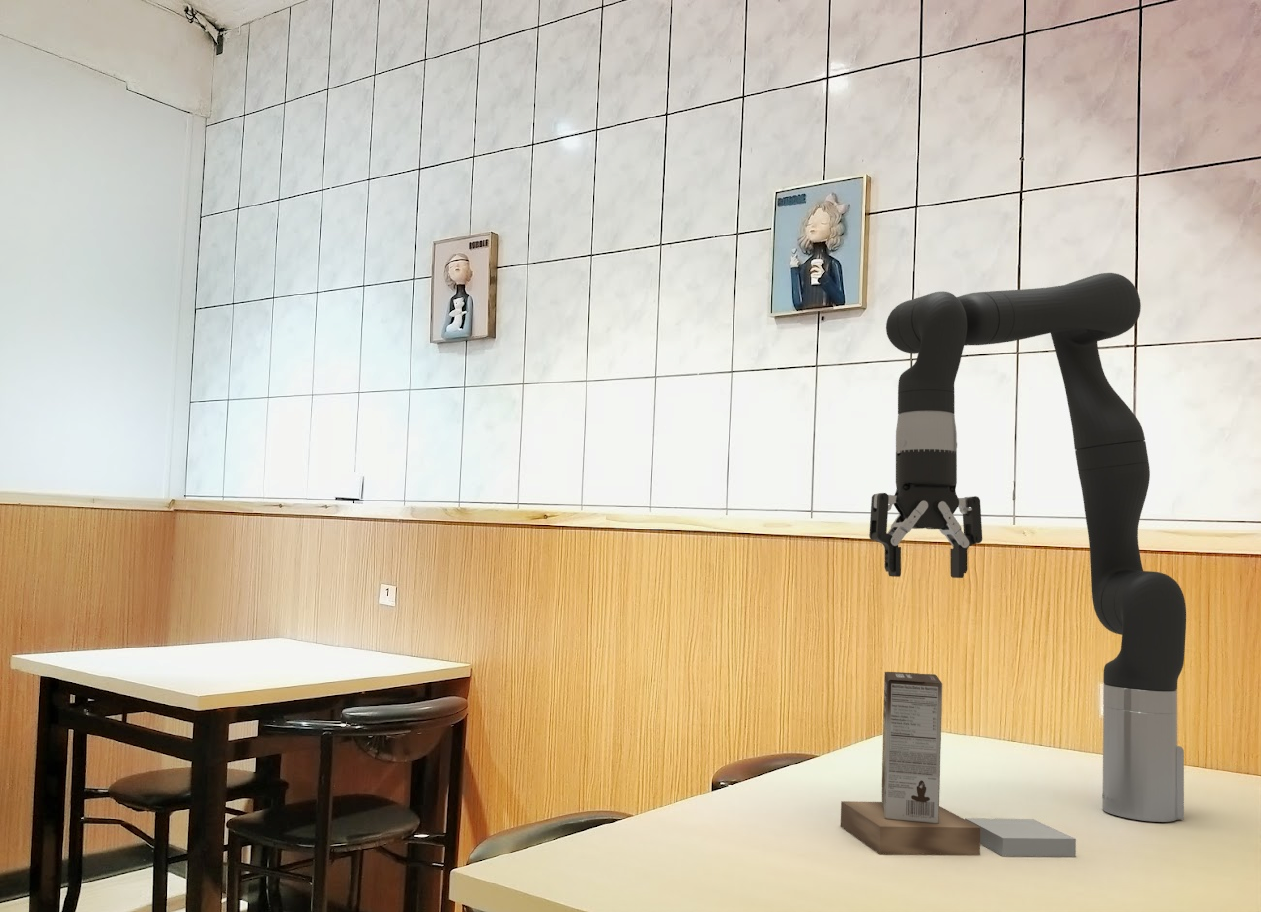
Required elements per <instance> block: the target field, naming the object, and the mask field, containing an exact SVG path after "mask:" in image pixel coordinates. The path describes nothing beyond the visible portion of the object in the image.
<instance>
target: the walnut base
mask: <svg viewBox="0 0 1261 912" xmlns="http://www.w3.org/2000/svg"><path fill="white" fill-rule="evenodd" d="M840 803H841V805H840V827H841V828H842V829H844V831H846V832H848V833H849V834H850V835H852V836H854V838H856V839H857V840H859V841H861V842H862V843H863V844H865V845H866V846H867V847H869V848H870V849H871V850H873V851H874V852H876V853H877V854H878V855H929V856H930V855H931V856H932V855H936V856H938V855H941V856H942V855H943V856H945V855H947V856H949V855H950V856H953V855H954V856H956V855H957V856H958V855H959V856H962V855H963V856H966V855H967V856H981V844H980V827H978V826H976V825H974V824H973V823H971V822H969V821H967V820H965V818H963V817H961V816H959V815H958V814H956V813H953V812H952V811H950V810H948V809H946V808H944V807H942V806H941V805H939V823H938V824H936V823H926V822H915V821H904V820H893V819H886V818H885V817H884V811H883V805H882V801H856V800H855V801H854V800H853V801H849V800H848V801H847V800H846V801H845V800H843V801H842V800H841V802H840Z"/></svg>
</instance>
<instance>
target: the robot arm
mask: <svg viewBox="0 0 1261 912" xmlns="http://www.w3.org/2000/svg"><path fill="white" fill-rule="evenodd" d="M1141 305H1142V304H1141V299H1140V294H1139V292H1138V289H1137V287H1136V286H1135V285H1134V283H1133V282H1132V281H1131V280H1130V279H1129V278H1127V277H1126V276H1124V275H1123V274H1122V275H1121V274H1119V273H1114V272H1102V273H1098V274H1093V275H1091V276H1087V277H1084V278H1081V279H1079V280H1075V281H1072V282H1069V283H1067V284H1063V285H1057V286H1049V287H1048V286H1047V287H1039V288H1038V287H1037V288H1025V289H1023V288H1022V289H1011V290H1009V289H1008V290H1007V289H1006V290H993V291H978V292H971V293H967V294H966V293H965V294H963V295H959V296H956V295H955V294H954V293H951V292H949V291H936V292H931V293H928V294H926V295H923V296H922V295H921V296H919V297H915V298H912V299H909V300H905V301H903V302H901V303H899V304H898V305H896V306H895V307H894V308H893V309H892V310H891V312H890V313H889V314H888V318H887V320H886V323H885V325H886V326H885V331H886V337H887V338H888V340H889V342H890V343H891V344H892V345H893V346H894V347H895V348H897V350H899V351H901V352H903V353H905V354H911V355H915V354H917V356H916V357H917V358H916V359H915V362H914V363H913V365H912V366H911V367H909V368H907V369H906V370H904V371H903V372H902V373H901V374H900V377H899V379H898V385H897V386H898V387H897V422H896V430H895V486H896V490H895V493H894V495H893V494H887V493H886V492H880V493H875V494H872V496H871V503H870V505H871V506H870V519H869V520H870V522H869V534H868V535H869V539H870V541H874V542H875V541H876V542H877V543H880V544H881V545H883V549H884V570H885V572H887V573H888V576H889V577H895V578H898V577H901V576H902V546H899V545H900V543H901V542H902V540H903V539H904V538H905V536H906V535H907V534H908V533H909V532H910V531H911V530H912V529H914V530H915V529H916V530H917V529H918V530H919V529H921V530H922V529H927V530H939V532H940V533H941V534H942V535H944V537H946V538H945V539H947V540H948V542H949V543H950V544H951V547H952V548H950V551H949V552H950V553H949V554H950V578H953V579H963V578H964V577H965V574H967V571H968V549H969V548H970V547H971V546H973V545H976V544H980V543H981V542H982V541H983V527H982V511H981V499H980V498H979V496H976V495H975V496H966V497H958V495H957V491H956V490H957V489H956V487H957V484H958V483H957V482H958V475H957V474H958V469H957V467H958V464H957V463H958V460H957V459H958V458H957V453H958V452H957V451H958V450H957V449H958V438H957V437H958V436H957V435H958V434H957V426H956V419H955V412H956V411H955V382H956V377H957V375H958V371H959V368H960V364H961V361H962V356H963V352H964V348H965V346H986V345H994V344H1003V343H1004V344H1005V343H1010V342H1015V341H1021V340H1025V339H1030V338H1034V337H1038V336H1043V335H1047V334H1050V336H1051V340H1052V344H1053V347H1054V351H1055V354H1056V358H1057V363H1058V365H1059V368H1060V374H1061V377H1062V382H1063V386H1064V391H1065V395H1066V401H1067V405H1068V412H1069V418H1070V423H1071V428H1072V429H1071V430H1072V436H1073V445H1074V446H1073V447H1074V452H1075V459H1076V465H1077V470H1078V478H1079V482H1080V487H1081V493H1082V500H1083V507H1084V513H1085V514H1084V516H1085V522H1086V526H1087V527H1086V528H1087V532H1088V533H1087V534H1088V543H1089V544H1088V545H1089V560H1090V564H1089V565H1090V583H1091V586H1090V587H1091V598H1092V605H1093V609H1094V612H1095V615H1096V617H1097V618H1098V621H1099V623H1100V624H1102V626H1103V628H1105V629H1106V630H1108V631H1109V632H1110V633H1111V632H1112V633H1113V634H1117V635H1121V644H1120V651H1119V653H1118V654H1117V656H1116V657H1114V659H1112V660H1110V661H1108V662H1107V663H1105V665H1104V667H1103V687H1102V689H1103V690H1102V691H1103V692H1102V693H1103V694H1102V695H1103V697H1102V699H1103V700H1102V705H1103V706H1102V707H1103V711H1102V715H1103V717H1102V721H1103V723H1102V796H1101V797H1102V798H1101V799H1102V811H1104V812H1106V813H1108V814H1111V815H1114V816H1118V817H1122V818H1124V819H1125V818H1126V819H1130V820H1137V821H1143V822H1144V821H1145V822H1158V823H1160V822H1161V823H1170V822H1174V821H1178V820H1184V819H1185V767H1184V766H1185V752H1184V751H1185V750H1184V748H1183V747H1182V746H1180V745H1178V680H1179V677H1180V674H1181V672H1182V670H1183V667H1184V663H1185V649H1186V633H1187V631H1186V630H1187V606H1186V600H1185V597H1184V596H1185V595H1184V593H1183V590H1182V588H1181V587H1180V585H1179V583H1178V582H1177V581H1176V580H1175V579H1173V578H1172V577H1171V576H1170V575H1168V574H1165V573H1164V572H1163V573H1162V572H1160V571H1159V572H1158V571H1151V570H1150V571H1149V570H1144V569H1143V564H1142V560H1141V554H1140V553H1141V552H1140V547H1139V537H1138V536H1139V532H1138V530H1139V523H1140V519H1141V514H1142V513H1143V509H1144V506H1145V505H1144V504H1145V501H1146V498H1147V495H1148V490H1149V485H1150V478H1151V476H1150V474H1151V470H1150V462H1149V456H1148V449H1147V443H1146V441H1145V440H1146V437H1145V433H1144V430H1143V427H1142V424H1141V422H1140V421H1139V419H1138V418H1137V416H1136V415H1135V413H1134V412H1133V411H1132V410H1131V408H1130V407H1129V406H1128V405H1127V404H1126V402H1125V401H1124V400H1123V399H1122V398H1121V397H1120V395H1118V393H1117V392H1116V390H1115V389H1114V388H1113V387H1112V385H1111V384H1110V382H1109V381H1108V379H1107V376H1106V375H1105V371H1104V368H1103V366H1102V361H1101V358H1100V353H1099V346H1098V345H1099V344H1098V342H1099V341H1103V340H1104V341H1105V340H1108V339H1112V338H1115V337H1118V336H1121V335H1123V334H1124V333H1127V332H1128V331H1130V330H1131V328H1133V327H1134V326H1135V325H1136V323H1137V321H1139V318H1140V315H1141V309H1142V308H1141V307H1142V306H1141ZM892 506H894V507H895V509H896V511H897V513H898V515H897V516H896V518H895V520H894V521H893V522H892V524H891V525H890V529H889V530H888V516H889V515H888V514H889V513H888V512H889V511H891V509H892V508H893V507H892ZM957 509H959V512H960V513H961V514H962V522H963V523H962V524H963V530H962V526H961V524H960V523H959V522H958V520H957V519H956V517H955V516H954V513H955V512H956V510H957Z"/></svg>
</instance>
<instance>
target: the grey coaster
mask: <svg viewBox="0 0 1261 912" xmlns="http://www.w3.org/2000/svg"><path fill="white" fill-rule="evenodd" d="M964 819H965V820H967V821H969V822H971V823H973V824H974V825H976V826H978V827H980V845H982V846H983V847H985V848H987V849H988V850H991V851H993V852H995V853H996V854H998V855H1000V856H1002V857H1038V858H1039V857H1047V858H1048V857H1051V858H1053V857H1059V858H1062V857H1063V858H1065V857H1066V858H1068V857H1069V858H1072V857H1073V858H1074V857H1075V858H1076V856H1077V855H1076V852H1077V850H1076V849H1077V847H1076V846H1077V845H1076V844H1077V839H1076V838H1075V837H1073V836H1071V835H1068V834H1066V833H1064V832H1063V831H1060V830H1058V829H1056V828H1054V827H1052V826H1049V825H1047V824H1045V823H1043V822H1041V821H1039V820H1036V819H1034V818H986V817H985V818H981V817H980V818H977V817H976V818H973V817H971V818H970V817H965V818H964Z"/></svg>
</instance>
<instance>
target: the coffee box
mask: <svg viewBox="0 0 1261 912" xmlns="http://www.w3.org/2000/svg"><path fill="white" fill-rule="evenodd" d="M883 685H884V687H883V688H884V689H883V713H882V714H883V715H882V716H883V719H882V723H883V724H882V753H881V754H882V758H881V759H882V762H881V766H882V767H881V802H882V805H883V811H884V817H885V818H886V819H893V820H904V821H915V822H926V823H936V824H938V823H939V806H940V791H941V790H940V787H941V784H940V783H941V781H940V780H941V779H940V778H941V777H940V775H941V748H942V747H941V744H942V717H943V716H942V708H943V683H942V681H941V680H940V679H939V676H938V675H936V674H935V673H933V674H931V673H915V672H902V671H901V672H900V671H898V672H897V671H884V683H883Z"/></svg>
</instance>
